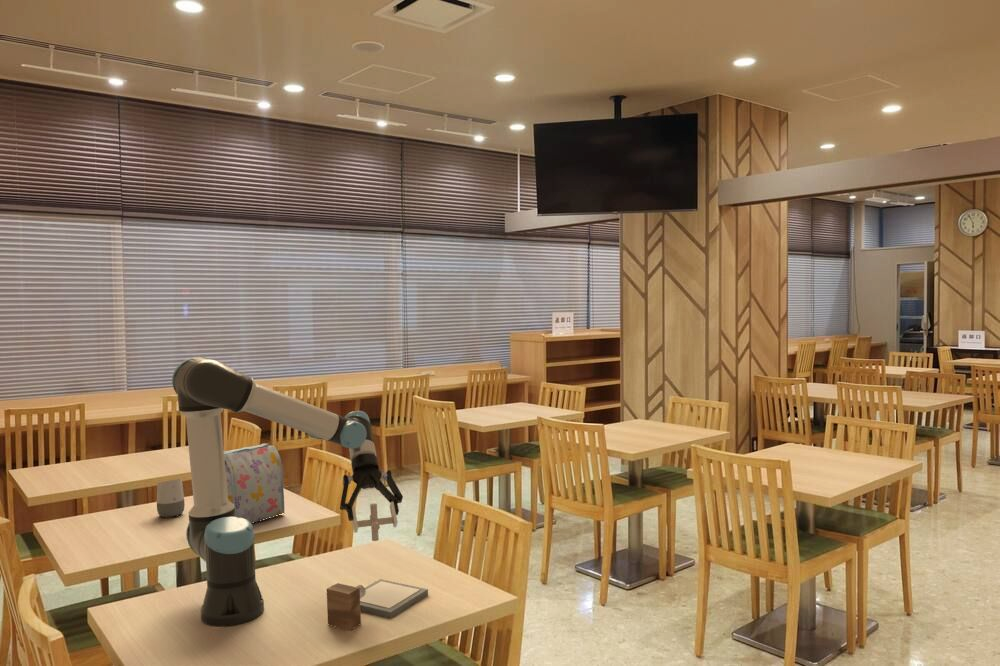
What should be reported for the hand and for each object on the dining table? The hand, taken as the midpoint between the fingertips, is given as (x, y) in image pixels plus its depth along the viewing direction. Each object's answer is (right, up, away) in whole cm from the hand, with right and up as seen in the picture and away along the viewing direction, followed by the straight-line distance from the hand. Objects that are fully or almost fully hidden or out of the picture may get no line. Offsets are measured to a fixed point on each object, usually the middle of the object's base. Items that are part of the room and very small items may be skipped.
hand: (376, 527), depth 207 cm
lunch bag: (-57, -14, +67) cm, 89 cm away
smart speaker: (-88, -15, +74) cm, 116 cm away
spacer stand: (+1, -17, -13) cm, 22 cm away
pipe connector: (-1, -4, +2) cm, 5 cm away
